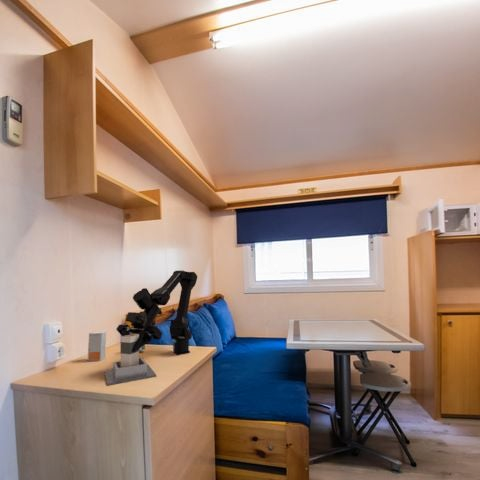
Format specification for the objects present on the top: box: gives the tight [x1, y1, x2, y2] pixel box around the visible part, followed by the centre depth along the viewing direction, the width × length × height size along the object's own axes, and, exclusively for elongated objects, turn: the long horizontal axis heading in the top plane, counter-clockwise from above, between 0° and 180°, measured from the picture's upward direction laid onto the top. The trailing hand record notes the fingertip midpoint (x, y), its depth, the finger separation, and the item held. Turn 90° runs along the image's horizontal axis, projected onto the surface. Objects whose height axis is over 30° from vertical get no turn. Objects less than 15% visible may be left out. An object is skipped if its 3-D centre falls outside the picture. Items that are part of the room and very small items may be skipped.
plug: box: [119, 334, 140, 368], centre depth 106 cm, size 5×5×12 cm
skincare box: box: [87, 331, 107, 362], centre depth 128 cm, size 6×4×12 cm
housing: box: [104, 357, 157, 386], centre depth 105 cm, size 16×16×4 cm
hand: (127, 351), depth 105 cm, fingers closed on plug, 5 cm apart
